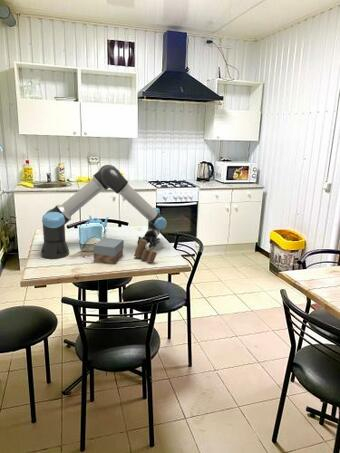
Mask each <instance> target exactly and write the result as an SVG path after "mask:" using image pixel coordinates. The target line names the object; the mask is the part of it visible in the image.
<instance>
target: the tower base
mask: <svg viewBox="0 0 340 453" xmlns="http://www.w3.org/2000/svg"><path fill="white" fill-rule="evenodd" d="M123 251H124V248H123V249H122V250H121V251H120V252H119V253H118V254H116V255H115V256H107V255H99V254H94V253H93V263H97V264H107V265H108V264H109V265H116V264H117V263H118V262H119V261H120V260H121V258H122V257H123V256H124V252H123Z"/></svg>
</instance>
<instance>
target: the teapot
mask: <svg viewBox="0 0 340 453" xmlns="http://www.w3.org/2000/svg"><path fill="white" fill-rule="evenodd" d="M88 216H89V219H88V220H89V221H86V222H85V223H84V225H85V224H86V225H87V224H89V223H100V224H102V225H103V227H104V230H105V231H106V228H107V226H108V225H107V224H108V219H109V216H106V218H105V219H104V222H103V220H102V219H99V218H98V217H93V218H92V215H88Z"/></svg>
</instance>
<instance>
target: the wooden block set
mask: <svg viewBox="0 0 340 453" xmlns="http://www.w3.org/2000/svg"><path fill="white" fill-rule="evenodd" d="M147 245H148V243H147V241H146V240H144V239H140V241H139V244H138V243H137V246H136V249H135V251H134V255H133V256H134V257H135V258H137V259H138V258H139V259H141V260H142V261H145V262H148V263H151V264H154V262H155V259H156V258H157V254H158V253H157V251H155V250H151V249H146V246H147Z"/></svg>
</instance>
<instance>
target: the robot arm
mask: <svg viewBox="0 0 340 453" xmlns="http://www.w3.org/2000/svg"><path fill="white" fill-rule="evenodd" d="M109 189H110V190H112V191H113V192H114V193H116V194H117V195H118V194H119V195H120V196H121V197H122V198H123V199H124V200H125V201H127V202H128V203H129V204H130V205H131V206H132V207H133V208H135V210H137V212H138V213H140V215H142V216H143V217H144V218H145V219H146V220H147V231H146V232H145V234H144V236H143V237H142V236H138V238H137V245H138V244H139V241H140V239H144V240H146V241H147V244H146V246H145V248H146V249H148V250H150V249H151V248H152V247H154V248H155V247H156V246H157V245H158V244H159V243H160V242H161V241H160V240H161V239H160V237H158V236H159V235H160V233H161V231H162V230H164V229H165V228H166V227H167V219H166V218H164V217H163V216H162V215H161V211H160V210H161V209H160V208H159V207H153V206H152V205H151V204H150V203H149V202H148V201H146V200H145V199H144V197H143V196H141V194H140V193H138V192H137V191H136V190H135V189H134V187H132V186H131V185H130V184H129V181H128V180H127V179H126V178H125V177H124V176H123V174H122V173H121V171H120V170H119V169H117V167H116V166H114V165H112V164H104V165H102V166H101V167H100V168H99V169H98V171H97V172H95V173H94V174H93V175H92V179H91V180H89V182H88V183H86V184H85V185H84V186H83V187H81V188H80V189H79V190H77V191H76V192H75V193H74V194H72V196H70V197H69V198H68V199H67V200H66V201H64V203H61V204H57V205H55V206H54V207H52V208H50V209H49V210H47V211H46V212H45V214H43V215H42V220H41V223H42V234H43V244H42V248H41V252H40V254H41V257H42V258H44V259H51V260H52V259H53V260H57V259H62V258H65V257H67V256H69V254H70V248H69V246H68V244H67V241H66V227H65V225H66V224H68V222H69V221H71V220H72V216H73V215H74V214H75V213H76V212H78V211H79V210H81V209H82V208H83V207H84V206H85V205H87V204H88V202H90V201H91V200H93V198H94V199H95V197H96V196H97V195H98V194H100V193H101V192H102V191H103V192H105V191H107V190H109Z"/></svg>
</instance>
